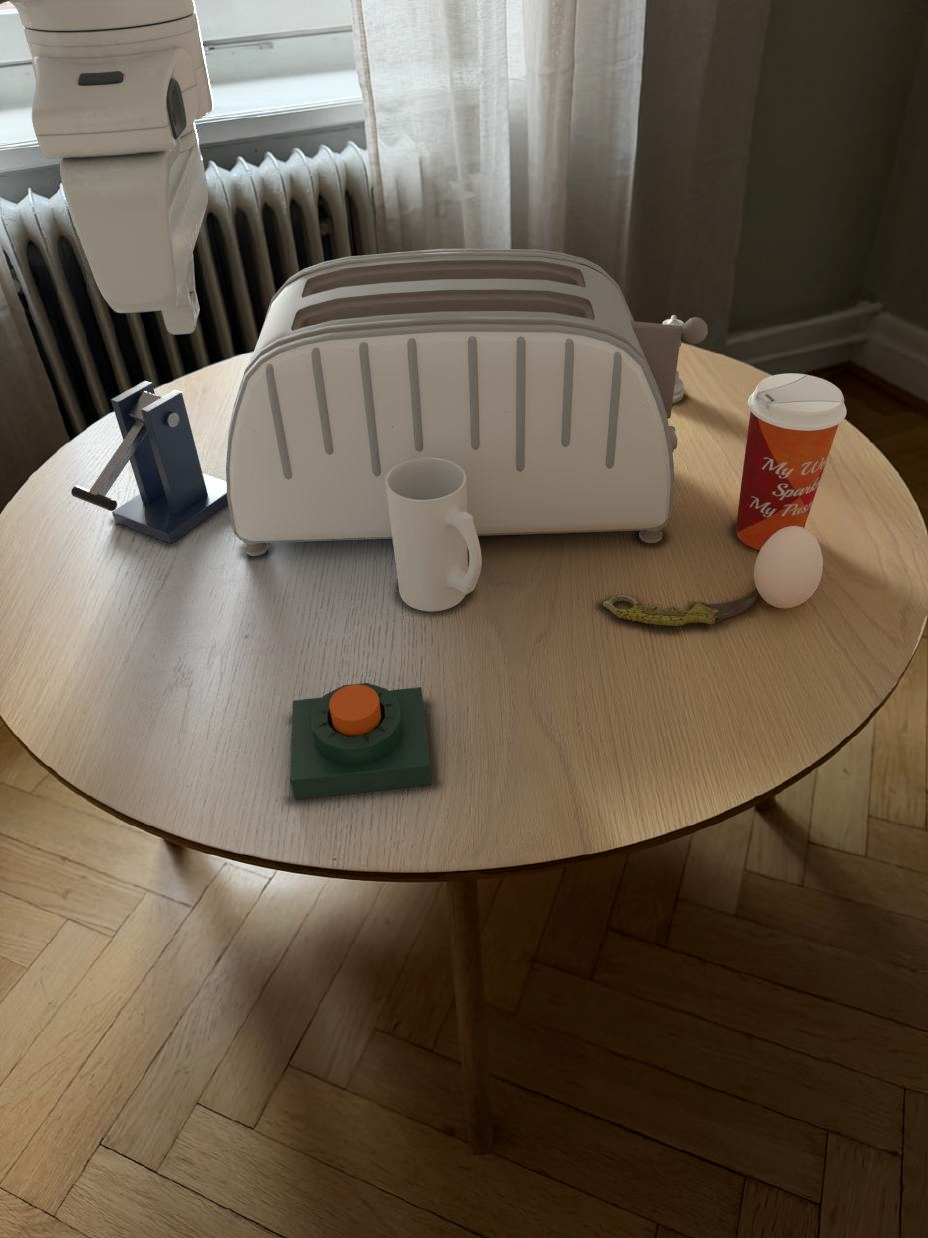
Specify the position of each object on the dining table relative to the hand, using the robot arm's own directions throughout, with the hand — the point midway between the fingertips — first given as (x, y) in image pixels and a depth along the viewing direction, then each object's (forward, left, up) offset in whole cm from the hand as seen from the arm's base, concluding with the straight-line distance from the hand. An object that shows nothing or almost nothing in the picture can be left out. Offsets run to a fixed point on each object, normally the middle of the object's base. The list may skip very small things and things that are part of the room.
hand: (185, 325), depth 59 cm
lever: (-12, +21, -21) cm, 32 cm away
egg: (+45, 0, -29) cm, 54 cm away
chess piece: (+46, +39, -29) cm, 67 cm away
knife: (+37, 0, -29) cm, 47 cm away
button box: (+8, -12, -29) cm, 32 cm away
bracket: (-10, +24, -29) cm, 39 cm away
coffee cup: (+48, +10, -29) cm, 57 cm away
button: (+8, -12, -26) cm, 29 cm away
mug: (+16, +5, -29) cm, 34 cm away
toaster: (+20, +21, -29) cm, 41 cm away
